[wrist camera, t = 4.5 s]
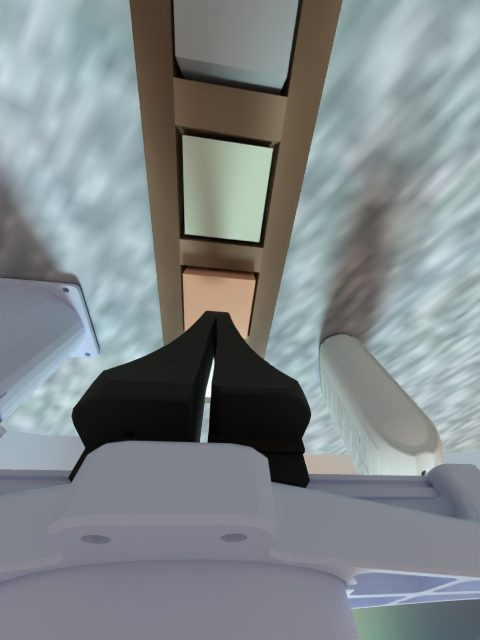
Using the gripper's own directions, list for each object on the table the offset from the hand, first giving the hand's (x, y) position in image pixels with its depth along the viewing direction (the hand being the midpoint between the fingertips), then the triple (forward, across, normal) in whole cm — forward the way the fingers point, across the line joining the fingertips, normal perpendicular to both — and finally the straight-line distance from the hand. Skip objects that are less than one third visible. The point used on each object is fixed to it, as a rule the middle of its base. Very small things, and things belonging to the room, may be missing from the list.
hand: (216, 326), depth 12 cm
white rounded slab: (+8, -14, +9) cm, 18 cm away
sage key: (+5, 0, -7) cm, 8 cm away
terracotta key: (+4, 0, 0) cm, 4 cm away
